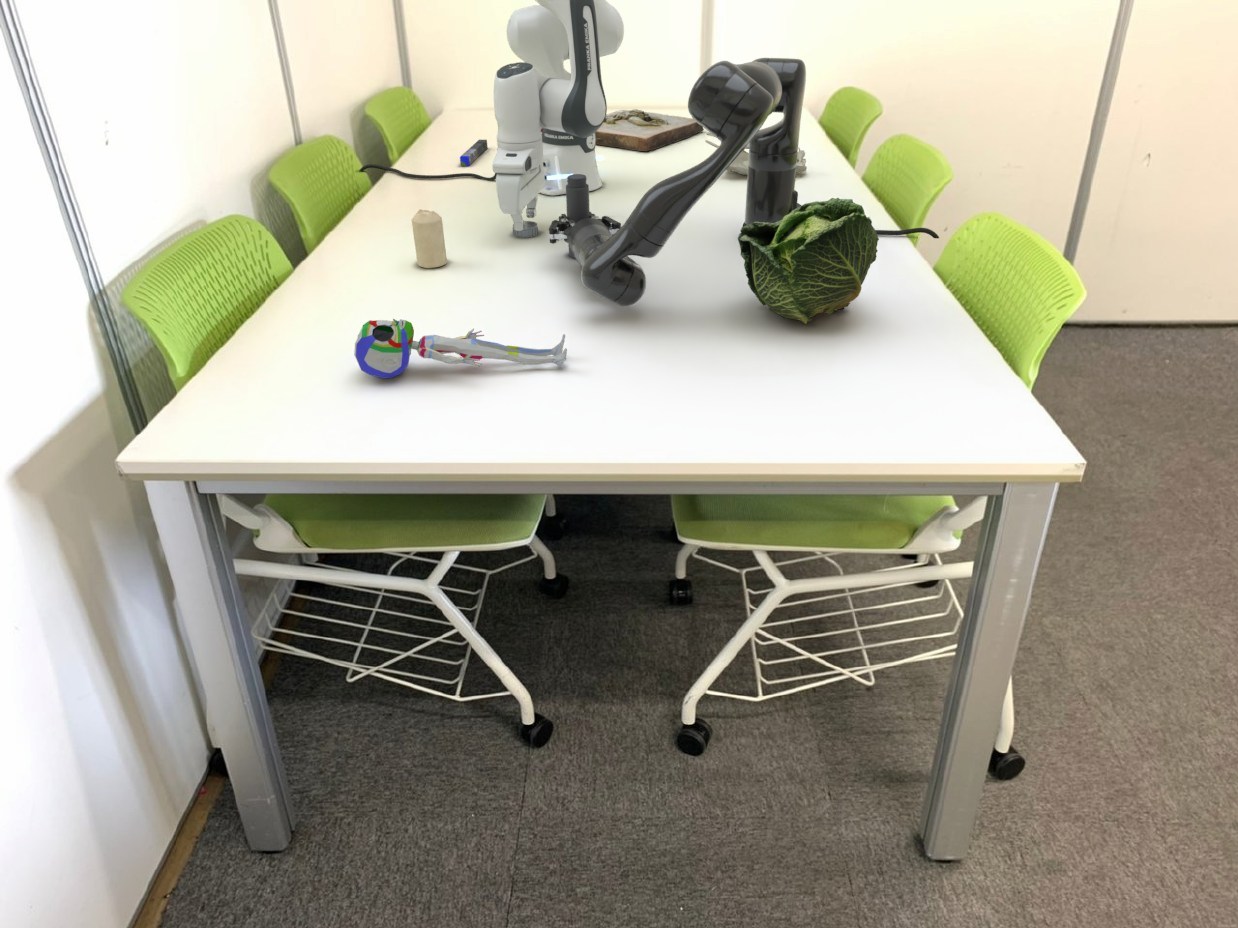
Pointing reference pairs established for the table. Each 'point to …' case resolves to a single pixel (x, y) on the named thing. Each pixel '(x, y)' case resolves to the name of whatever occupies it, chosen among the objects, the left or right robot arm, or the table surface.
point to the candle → (429, 239)
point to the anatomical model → (742, 159)
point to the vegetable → (810, 258)
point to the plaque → (644, 130)
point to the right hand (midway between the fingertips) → (575, 218)
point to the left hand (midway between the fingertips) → (525, 223)
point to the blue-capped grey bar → (473, 152)
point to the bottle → (577, 200)
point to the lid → (527, 230)
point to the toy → (435, 349)
